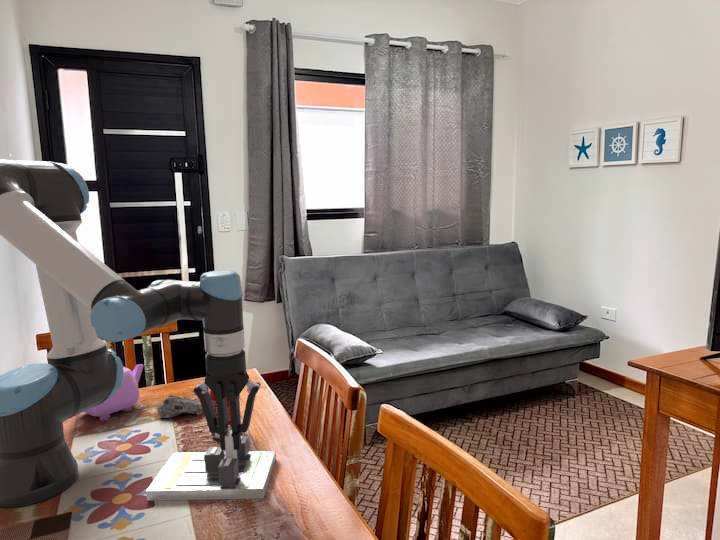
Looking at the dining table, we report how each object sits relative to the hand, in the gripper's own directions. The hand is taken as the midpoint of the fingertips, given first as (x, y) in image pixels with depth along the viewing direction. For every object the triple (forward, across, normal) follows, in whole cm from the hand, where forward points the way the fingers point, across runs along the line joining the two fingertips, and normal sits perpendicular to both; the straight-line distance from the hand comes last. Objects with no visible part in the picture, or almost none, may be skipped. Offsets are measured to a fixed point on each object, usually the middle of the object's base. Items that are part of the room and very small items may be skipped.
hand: (232, 463), depth 102 cm
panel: (+3, -3, 0) cm, 5 cm away
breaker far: (+1, +1, +4) cm, 4 cm away
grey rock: (+4, -22, +31) cm, 38 cm away
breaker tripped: (+1, -3, 0) cm, 3 cm away
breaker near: (+1, 0, -5) cm, 5 cm away
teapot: (+4, -41, +34) cm, 54 cm away
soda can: (+4, -6, +19) cm, 20 cm away
